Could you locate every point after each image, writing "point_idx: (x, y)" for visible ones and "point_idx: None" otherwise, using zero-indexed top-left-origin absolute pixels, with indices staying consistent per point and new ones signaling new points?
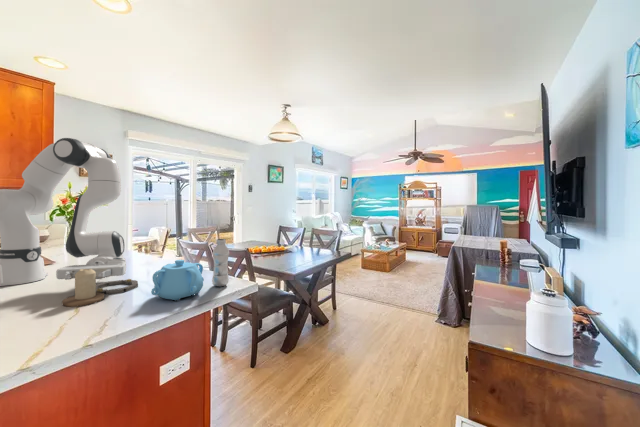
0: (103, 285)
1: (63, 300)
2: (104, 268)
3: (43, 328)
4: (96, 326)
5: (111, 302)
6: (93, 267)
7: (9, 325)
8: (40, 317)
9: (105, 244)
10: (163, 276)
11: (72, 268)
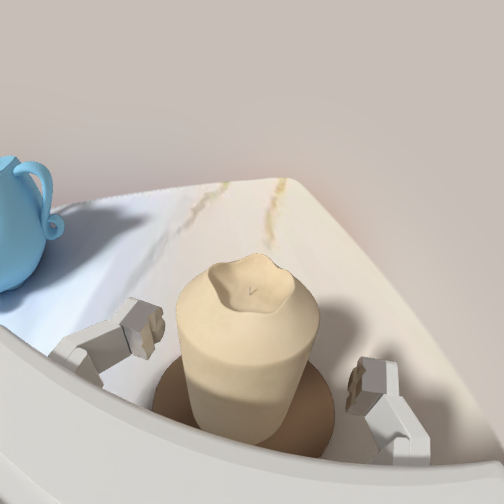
0: None
1: (330, 403)
2: (85, 381)
3: (305, 244)
4: (209, 212)
5: None
6: (178, 447)
7: (389, 290)
8: (345, 307)
9: None
10: (26, 183)
11: (414, 489)
